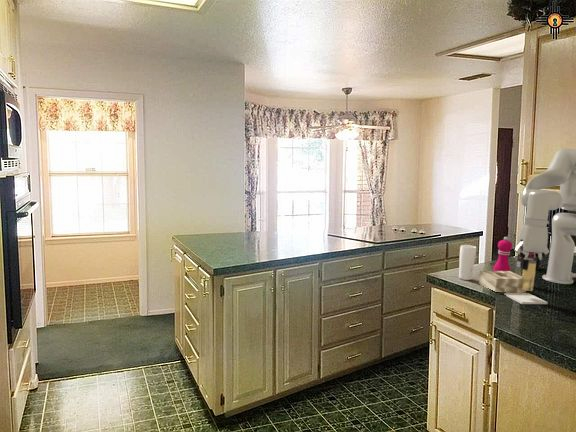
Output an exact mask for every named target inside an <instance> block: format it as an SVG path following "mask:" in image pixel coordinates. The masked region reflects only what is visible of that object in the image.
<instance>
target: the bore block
mask: <svg viewBox="0 0 576 432" xmlns="http://www.w3.org/2000/svg"><path fill="white" fill-rule="evenodd" d="M478 279H479V280H478V285H479V284H480V285H479V286H481V285H482V286H481V287H483V286H484V287H483V288H485V287H486V288H485V289H487V288H489V289H491V290H493V291H495V292H506V293H527V291H526V290H522V289H520V287H521V280H522V275H519V274H518V273H514V272H513V271H511V272H510V271H493V270H479V277H478ZM489 289H488V290H489Z"/></svg>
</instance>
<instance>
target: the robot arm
mask: <svg viewBox="0 0 576 432" xmlns="http://www.w3.org/2000/svg"><path fill="white" fill-rule="evenodd" d="M558 186H560V187H559V192H558V191H555V190H546V189H547V188H552V187H558ZM520 202H521V204H522V206H524V207H526V213H525V220H524V225H522V226H521V228H520V231H519V233H518V239H517V243H516V247H515V248H514V252H515V253H516V254H517V256H518V255H519V256H520V258H521V263H520V267H519V268H520V269H522V270H523V269H524V270H527V265H528V260H527V257H528V254H529V252H534V255H535V258H533V259H535V260H537V264H536V271H539V269H540V265H541V264H540V263H541V261H542V260H543V258H544V257H545V256H546V255H547V254H549V255H548V261H547V269H546V274H543V275H542V277H541V278H542V279H543V280H545V281H547V282H550V283H555V284H561V285H572V284H573V283H574V279H575V278H576V273H573V272H572V266H573V261H574V253H575V249H576V244H575V242H574V240H573V238H572V236H575V237H576V213H571V212H570V213H569V212H557V213H555V214H554V215H553V216H552V219H551V242H550V248H548V243H549V241H548V240H549V231H548V230H549V229H548V227H547V225H549V224H550V220H548V219H549V211H555V210H557V209H559V208H560V209H562V210H566V211H572V212H576V148H561V149H559V150H557V151H556V152H555V153H554V155H553V157H552V158H551V161H550V163H549V165H548V167H547V170H546V171H544V172H541V173H539V174H538V175H535V176H534V177H532V178H530V179H529V180H528V182H527V183H526V185H525V187H524V189H523V190H522V192H521V196H520ZM520 250H522V252H521V251H520ZM524 254H525V255H524Z"/></svg>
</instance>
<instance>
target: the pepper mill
mask: <svg viewBox="0 0 576 432" xmlns="http://www.w3.org/2000/svg"><path fill="white" fill-rule="evenodd" d="M512 243H513V242H511V241H510V240H509V237H508V236H504V237H503V239H501V240H499V241H498V242H497V248H498V250H497V254H498V258H497V261H496V262H495V264H494V266H493V267H492V271H510V272H512V270H511V266H510V263H509V257H510V255H511V250H512V249H513V244H512Z"/></svg>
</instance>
